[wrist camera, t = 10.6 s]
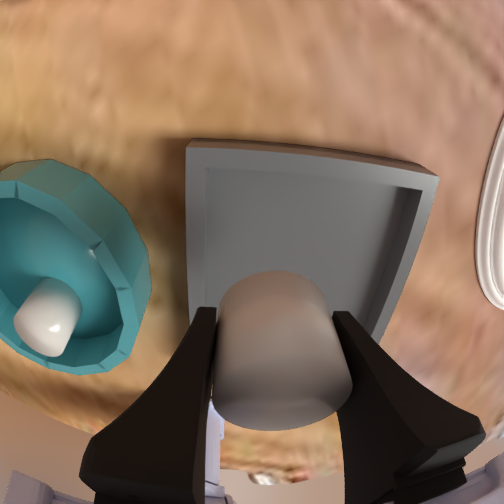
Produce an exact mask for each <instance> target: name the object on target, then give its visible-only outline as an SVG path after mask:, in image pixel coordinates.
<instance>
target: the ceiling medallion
mask: <svg viewBox="0 0 504 504" xmlns="http://www.w3.org/2000/svg"><path fill="white" fill-rule="evenodd" d="M475 258H476V269H477V275H478V279H479V283H480V286H481V288H482V290H483V292H484V294H485V296H486V297H487V298H488V300H489V301H490V302H491V303H492V304H493V305H495V306H496V307H498V308H500V309H503V310H504V117H503V120H502V122H501V125H500V128H499V130H498V133H497V136H496V139H495V142H494V145H493V149H492V152H491V156H490V159H489V163H488V167H487V171H486V175H485V179H484V183H483V188H482V193H481V199H480V204H479V211H478V218H477V227H476V241H475Z"/></svg>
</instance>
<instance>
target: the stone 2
mask: <svg viewBox="0 0 504 504" xmlns="http://www.w3.org/2000/svg"><path fill="white" fill-rule="evenodd" d="M351 391H352V379H351V376H350V372H349V369H348V366H347V363H346V360H345V356H344V353H343V350H342V347H341V344H340V341H339V338H338V335H337V332H336V329H335V326H334V323H333V320H332V317H331V314H330V311H329V308H328V305H327V302H326V300H325V297H324V295H323V293H322V291H321V290H320V288H319V287H318V286H317V285H316V284H315V283H314V282H312V281H311V280H310V279H308V278H306V277H304V276H302V275H299V274H296V273H292V272H288V271H266V272H261V273H256V274H253V275H250V276H248V277H246V278H244V279H242V280H240V281H238V282H237V283H235V284H234V285H233V286H231V287H230V288H229V289H228V290H227V291H226V292H225V294H224V295H223V297H222V298H221V300H220V302H219V305H218V309H217V320H216V336H215V351H214V369H213V387H212V404H213V406H214V409H215V410H216V412H217V413H218V414H219V415H220V416H221V417H222V418H224V419H225V420H227V421H228V422H230V423H232V424H235V425H237V426H240V427H243V428H248V429H253V430H261V431H281V430H289V429H295V428H299V427H303V426H307V425H310V424H313V423H315V422H318V421H320V420H322V419H324V418H326V417H328V416H329V415H331V414H333V413H334V412H335V411H337V410H338V409H339V408H340V407H341V406H342V405H343V404H344V403H345V402H346V401H347V399H348V398H349V396H350V394H351Z"/></svg>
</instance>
